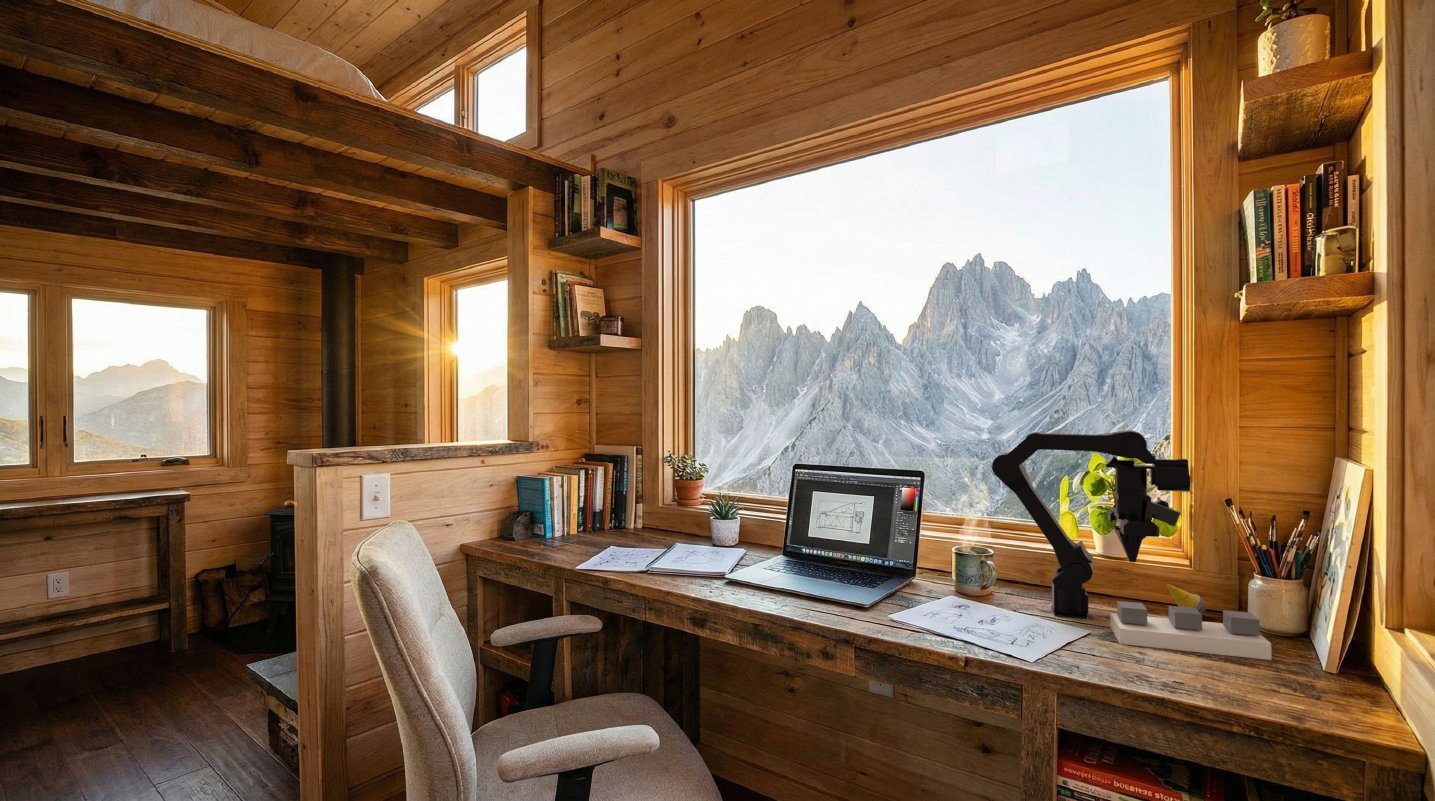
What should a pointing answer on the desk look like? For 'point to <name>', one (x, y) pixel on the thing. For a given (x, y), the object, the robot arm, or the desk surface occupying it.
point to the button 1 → (1132, 612)
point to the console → (1190, 638)
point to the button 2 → (1241, 623)
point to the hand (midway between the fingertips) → (1132, 561)
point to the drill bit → (1186, 599)
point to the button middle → (1185, 617)
